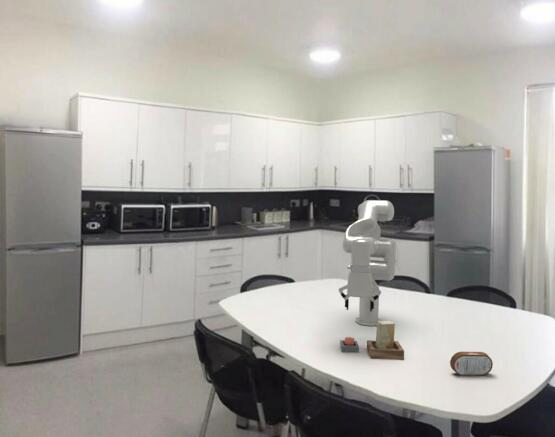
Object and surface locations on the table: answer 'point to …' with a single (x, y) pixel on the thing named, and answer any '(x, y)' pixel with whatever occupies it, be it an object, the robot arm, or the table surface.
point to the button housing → (349, 347)
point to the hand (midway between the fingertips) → (359, 309)
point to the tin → (471, 363)
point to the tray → (385, 351)
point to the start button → (349, 341)
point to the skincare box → (385, 335)
